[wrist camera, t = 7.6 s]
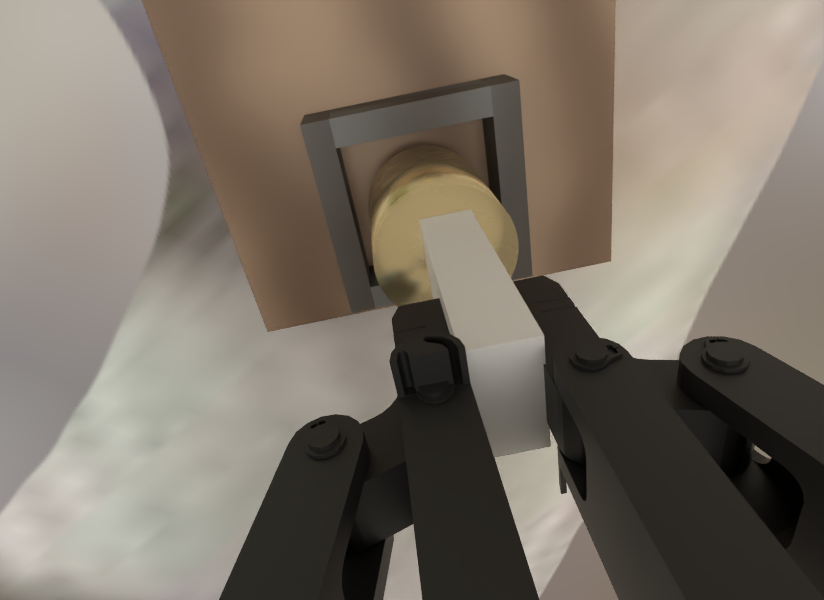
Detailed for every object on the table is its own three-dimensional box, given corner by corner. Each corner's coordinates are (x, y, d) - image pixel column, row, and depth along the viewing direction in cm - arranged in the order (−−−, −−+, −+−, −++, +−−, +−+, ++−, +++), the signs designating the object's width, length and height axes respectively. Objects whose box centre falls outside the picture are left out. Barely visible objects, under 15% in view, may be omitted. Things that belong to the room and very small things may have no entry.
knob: (381, 265, 21) (389, 332, 17) (356, 158, 19) (358, 202, 14) (487, 243, 21) (523, 304, 17) (475, 134, 19) (512, 170, 14)
